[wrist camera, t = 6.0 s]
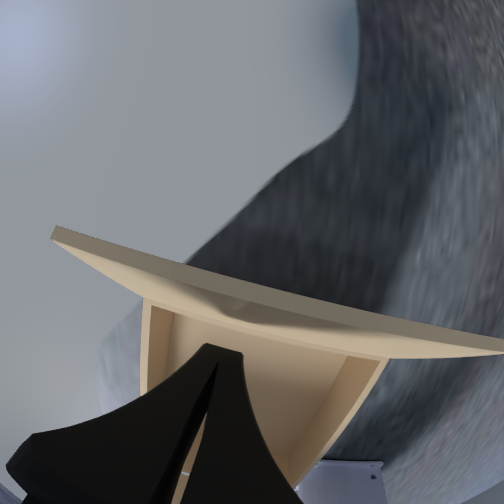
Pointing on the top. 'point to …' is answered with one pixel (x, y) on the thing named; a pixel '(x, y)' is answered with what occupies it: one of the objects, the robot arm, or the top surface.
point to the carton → (267, 381)
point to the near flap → (271, 306)
